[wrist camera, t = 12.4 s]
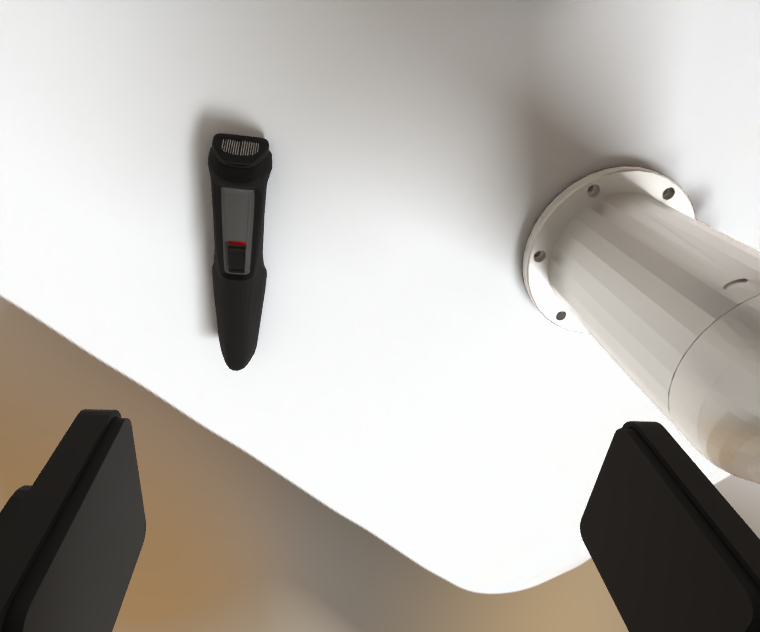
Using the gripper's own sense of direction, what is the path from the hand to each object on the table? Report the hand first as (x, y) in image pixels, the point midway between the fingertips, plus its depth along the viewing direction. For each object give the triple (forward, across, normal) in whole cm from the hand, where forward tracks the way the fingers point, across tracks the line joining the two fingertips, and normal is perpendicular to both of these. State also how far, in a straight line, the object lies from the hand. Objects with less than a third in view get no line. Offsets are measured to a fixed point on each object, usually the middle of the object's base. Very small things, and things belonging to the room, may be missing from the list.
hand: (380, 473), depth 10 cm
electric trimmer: (+27, +6, +6) cm, 28 cm away
